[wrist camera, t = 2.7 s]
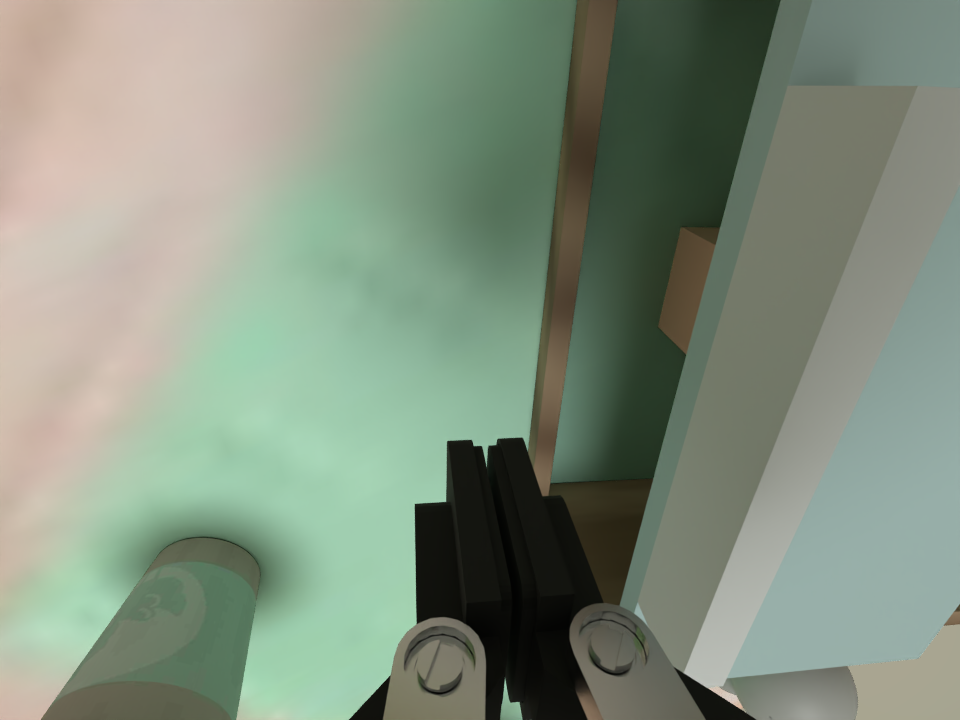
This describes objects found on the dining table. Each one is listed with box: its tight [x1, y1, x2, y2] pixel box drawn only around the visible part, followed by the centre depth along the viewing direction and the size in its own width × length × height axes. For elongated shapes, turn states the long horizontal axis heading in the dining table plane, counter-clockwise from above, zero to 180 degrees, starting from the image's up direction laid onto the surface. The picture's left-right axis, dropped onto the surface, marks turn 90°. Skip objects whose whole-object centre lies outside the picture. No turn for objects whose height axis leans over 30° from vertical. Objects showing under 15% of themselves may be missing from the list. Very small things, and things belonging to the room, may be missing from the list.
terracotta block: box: [658, 227, 720, 354], centre depth 22 cm, size 5×5×6 cm
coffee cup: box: [41, 538, 260, 720], centre depth 24 cm, size 8×8×12 cm
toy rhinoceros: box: [720, 666, 858, 720], centre depth 34 cm, size 7×12×8 cm, turn 168°
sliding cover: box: [620, 0, 960, 688], centre depth 14 cm, size 27×14×4 cm, turn 178°
